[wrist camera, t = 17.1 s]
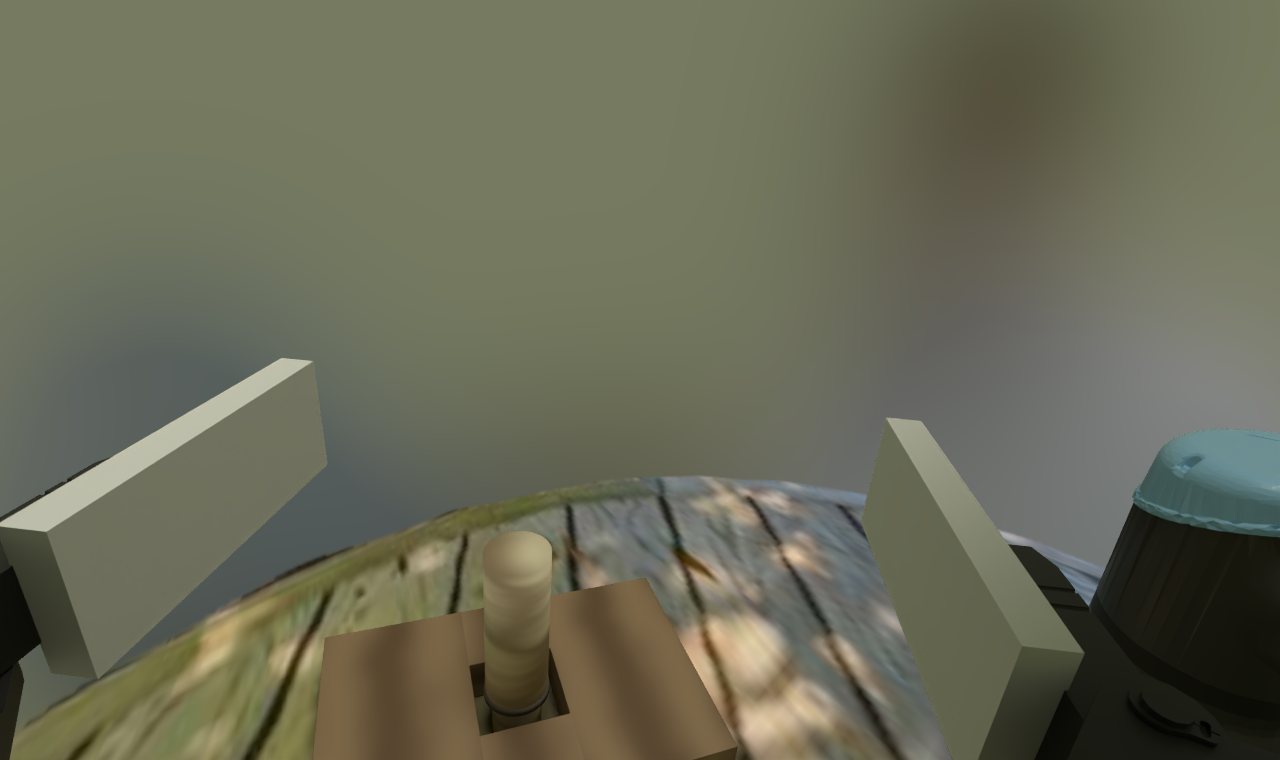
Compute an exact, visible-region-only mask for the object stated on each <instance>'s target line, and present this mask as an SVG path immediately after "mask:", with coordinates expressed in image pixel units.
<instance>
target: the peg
mask: <svg viewBox="0 0 1280 760" xmlns="http://www.w3.org/2000/svg"><path fill="white" fill-rule="evenodd" d="M551 564H552V548H551V545H550V543H549V542H548V541H547V540H546V539H545V538H544V537H542V536H540V535H538V534H536V533H532V532H527V531H513V532H507V533H504V534H501V535H498V536H496V537H495V538H493V539H492V540H490V541H489V542H488V543H487V544H486V546H485V548H484V550H483V588H484V643H485V682H484V698H485V701H486V703H487V705H488V706H489V707H490V708H491V709H492V728H493V731H494V733H495V732H499V731H503V730H507V729H511V728H515V727H518V726H522V725H526V724H530V723H534V722H538V721H541V705H542V704H543V703H544V701H545V700H546V698H547V696H548V693H549V676H548V660H549V628H550V596H551Z"/></svg>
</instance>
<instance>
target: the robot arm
mask: <svg viewBox="0 0 1280 760" xmlns="http://www.w3.org/2000/svg"><path fill="white" fill-rule="evenodd" d="M326 465H327V458H326V450H325V443H324V436H323V429H322V421H321V414H320V407H319V400H318V393H317V385H316V379H315V371H314V364H313V361H304V360H295V359H285V358H281V359H279V360H278V361H276V362H274V363H273V364H271V365H269V366H267V367H266V368H264V369H262V370H261V371H259V372H257V373H255V374H254V375H252V376H250V377H249V378H247V379H245V380H243V381H242V382H240V383H238V384H236V385H235V386H233V387H231V388H230V389H228V390H226V391H225V392H223V393H221V394H219V395H218V396H216V397H214V398H212V399H211V400H209V401H207V402H206V403H204V404H202V405H200V406H199V407H197V408H195V409H194V410H192V411H190V412H188V413H187V414H185V415H184V416H182V417H180V418H178V419H177V420H175V421H173V422H171V423H170V424H168V425H166V426H164V427H163V428H161V429H160V430H158V431H156V432H154V433H152V434H151V435H149V436H147V437H146V438H144V439H142V440H141V441H139V442H137V443H135V444H134V445H132V446H130V447H128V448H127V449H125V450H123V451H122V452H120V453H118V454H116V455H115V456H112V457H110V458H107V459H105V460H102V461H99V462H96V463H94V464H92V465H90V466H88V467H87V468H85V469H83V470H82V471H80V472H78V473H76V474H75V475H73V476H72V477H69V478H68V479H67V482H61V483H59V484H58V485H56V486H54V487H52V488H50V489H49V490H47V491H45V494H44V495H38V496H36V497H35V498H33V499H31V500H30V501H28V502H26V503H25V504H23V505H21V506H19V507H18V508H16V509H14V510H12V511H10V512H9V513H7V514H5V515H4V516H2V517H0V760H9V759H10V754H11V748H12V743H13V738H14V732H15V727H16V721H17V716H18V711H19V705H20V700H21V695H22V689H23V684H24V678H23V673H22V670H21V667H20V665H19V662H18V661H19V660H20V659H21V658H23V657H24V656H25V655H26V654H27V653H29V652H30V651H31V650H33V649H34V648H35V647H36V646H38V645H39V644H40V645H41V648H42V650H43V653H44V655H45V658H46V660H47V663H48V666H49V668H50V671H51V673H53V674H61V675H69V676H76V677H84V678H92V679H99V678H100V677H101V676H102V675H103V674H104V673H105V672H106V671H107V670H108V669H109V668H111V667H112V666H113V665H114V664H115V663H116V662H117V661H118V660H119V659H120V658H121V657H122V656H123V655H124V654H125V653H126V652H128V651H129V650H130V649H131V648H132V647H133V646H134V645H135V644H136V643H137V642H138V641H139V640H140V639H141V638H143V637H144V636H145V635H146V634H147V633H148V632H149V631H150V630H151V629H152V628H153V627H154V626H155V625H156V624H157V623H159V622H160V621H161V620H162V619H163V618H164V617H165V616H166V615H167V614H168V613H169V612H170V611H171V610H172V609H173V608H175V607H176V606H177V605H178V604H179V603H180V602H181V601H182V600H183V599H184V598H185V597H186V596H187V595H188V594H189V593H190V592H192V591H193V590H194V589H195V588H196V587H197V586H198V585H199V584H200V583H201V582H202V581H203V580H204V579H205V578H206V577H207V576H209V575H210V574H211V573H212V572H213V571H214V570H215V569H216V568H217V567H218V566H219V565H220V564H221V563H222V562H223V561H225V560H226V559H227V558H228V557H229V556H230V555H231V554H232V553H233V552H234V551H235V550H236V549H238V548H239V547H240V546H241V545H242V544H243V543H244V542H245V541H246V540H247V539H248V538H249V537H250V536H251V535H252V534H254V533H255V532H256V531H257V530H258V529H259V528H260V527H261V526H262V525H263V524H264V523H265V522H266V521H267V520H268V519H269V518H270V517H272V516H273V515H274V514H275V513H276V512H277V511H278V510H279V509H280V508H281V507H282V506H283V505H284V504H285V503H287V502H288V501H289V500H290V499H291V498H292V497H293V496H294V495H295V494H296V493H297V492H298V491H299V490H300V489H301V488H302V487H304V485H306V484H307V483H308V482H309V481H310V480H311V479H312V478H313V477H314V476H315V475H316V474H318V472H320V471H321V470H322V469H323V468H324V467H325V466H326ZM1133 498H1134V503H1133V506H1132V508H1131V510H1130V513H1129V515H1128V517H1127V520H1126V522H1125V524H1124V526H1123V529H1122V531H1121V534H1120V536H1119V538H1118V541H1117V543H1116V545H1115V548H1114V550H1113V553H1112V555H1111V557H1110V559H1109V562H1108V564H1107V566H1106V569H1105V571H1104V573H1103V575H1102V577H1101V580H1100V582H1099V585H1098V587H1097V589H1096V592H1095V594H1094V596H1093V598H1092V601H1091V603H1090V605H1089V606H1088V605H1087V604H1086V603H1085V601H1084V600H1083V599H1082V598H1081V596H1080V595H1079V594H1077V593H1075V589H1074V587H1073V586H1072V585H1071V583H1070V582H1069V581H1068V580H1067V578H1066V577H1065V576H1064V574H1063V573H1062V572H1061V571H1060V569H1059V568H1058V567H1057V566H1056V565H1054V564H1053V563H1052V562H1050V561H1049V560H1048V559H1046V558H1045V557H1044V556H1042V555H1041V554H1040V553H1038V552H1037V551H1036V550H1034V549H1033V548H1032V547H1028V546H1019V545H1010V544H1007V542H1006V541H1005V539H1004V538H1003V537H1002V535H1001V534H1000V532H999V531H998V529H997V528H996V527H995V525H994V524H993V522H992V521H991V519H990V518H989V517H988V515H987V514H986V512H985V511H984V510H983V508H982V507H981V505H980V504H979V502H978V501H977V500H976V498H975V497H974V495H973V494H972V493H971V491H970V490H969V488H968V487H967V486H966V484H965V483H964V481H963V480H962V478H961V477H960V476H959V474H958V473H957V471H956V470H955V468H954V467H953V466H952V464H951V463H950V461H949V460H948V458H947V457H946V456H945V454H944V453H943V451H942V450H941V449H940V447H939V446H938V444H937V443H936V442H935V440H934V439H933V437H932V436H931V434H930V433H929V431H928V430H927V429H926V427H925V426H924V424H923V423H922V422H921V421H913V420H904V419H893V418H886V420H885V424H884V428H883V433H882V436H881V440H880V445H879V449H878V453H877V457H876V461H875V465H874V470H873V474H872V478H871V482H870V487H869V491H868V495H867V499H866V503H865V507H864V511H863V516H862V520H861V523H862V526H863V528H864V531H865V533H866V536H867V539H868V541H869V544H870V546H871V549H872V552H873V554H874V557H875V559H876V562H877V565H878V567H879V570H880V572H881V575H882V578H883V580H884V583H885V585H886V588H887V591H888V593H889V596H890V598H891V601H892V604H893V606H894V609H895V611H896V614H897V617H898V619H899V622H900V624H901V627H902V630H903V632H904V635H905V637H906V640H907V643H908V645H909V648H910V650H911V653H912V656H913V658H914V661H915V663H916V666H917V669H918V671H919V674H920V676H921V679H922V682H923V684H924V687H925V689H926V692H927V695H928V697H929V700H930V702H931V705H932V708H933V710H934V713H935V715H936V718H937V721H938V723H939V726H940V728H941V731H942V734H943V736H944V739H945V741H946V744H947V747H948V749H949V752H950V754H951V757H952V760H1280V433H1272V432H1265V431H1255V430H1254V431H1253V430H1240V429H1213V430H1202V431H1196V432H1191V433H1187V434H1184V435H1181V436H1178V437H1176V438H1174V439H1172V440H1171V441H1169V442H1168V443H1167V444H1165V445H1164V446H1163V447H1162V448H1161V450H1160V451H1159V452H1158V454H1157V456H1156V458H1155V460H1154V462H1153V464H1152V465H1151V467H1150V469H1149V471H1148V473H1147V475H1146V477H1145V479H1144V480H1143V482H1142V484H1140V485H1139V486H1138V487H1137V488H1136V489H1135V491H1134V494H1133Z"/></svg>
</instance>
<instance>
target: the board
mask: <svg viewBox="0 0 1280 760" xmlns="http://www.w3.org/2000/svg"><path fill="white" fill-rule="evenodd" d="M548 676H549V680H550V683H551V686H552V690H553V693H554V697H555V700H556V704H557V707H558V711H559V714H560V716H558V717H554V718H550V719H546V720H542V721H538V722H534V723H530V724H526V725H522V726H518V727H515V728H511V729H507V730H503V731H499V732H495V733H491V734H487V735H483V736H480V733H479V726H478V720H477V713H476V707H475V700H474V697H476V696H481V695H484V682H485V643H484V608H482V609H477V610H471V611H466V612H461V613H455V614H450V615H444V616H439V617H434V618H428V619H423V620H418V621H412V622H407V623H401V624H396V625H391V626H385V627H380V628H375V629H369V630H364V631H359V632H353V633H348V634H342V635H337V636H332V637H326V638H325V642H324V652H323V662H322V671H321V681H320V691H319V701H318V711H317V720H316V730H315V740H314V750H313V760H735V757H736V752H737V747H738V746H737V745H736V743H735V741H734V739H733V737H732V735H731V734H730V732H729V730H728V728H727V726H726V724H725V723H724V721H723V719H722V717H721V715H720V713H719V712H718V710H717V708H716V706H715V704H714V702H713V700H712V699H711V697H710V695H709V693H708V691H707V689H706V688H705V686H704V684H703V682H702V680H701V678H700V677H699V675H698V673H697V671H696V669H695V667H694V666H693V664H692V662H691V660H690V658H689V656H688V655H687V653H686V651H685V649H684V647H683V645H682V644H681V642H680V640H679V638H678V636H677V634H676V632H675V631H674V629H673V627H672V625H671V623H670V621H669V620H668V618H667V616H666V614H665V612H664V610H663V609H662V607H661V605H660V603H659V601H658V599H657V598H656V596H655V594H654V592H653V590H652V588H651V587H650V585H649V583H648V581H647V579H646V578H643V579H638V580H632V581H627V582H622V583H616V584H611V585H605V586H600V587H595V588H589V589H584V590H579V591H573V592H568V593H563V594H557V595H552V596H550V628H549V660H548Z"/></svg>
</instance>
